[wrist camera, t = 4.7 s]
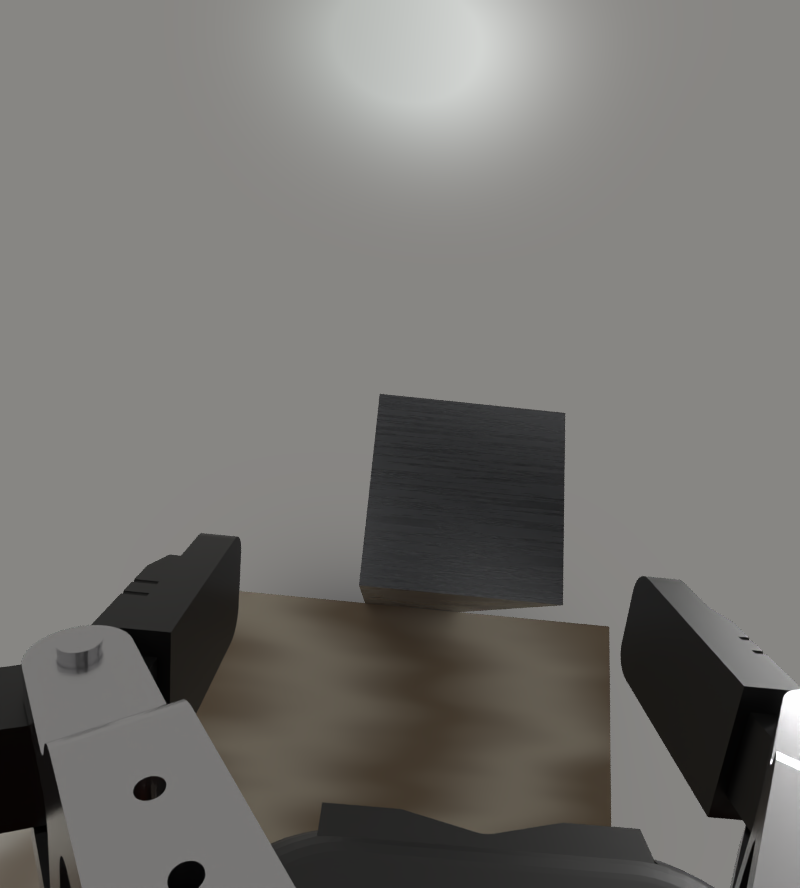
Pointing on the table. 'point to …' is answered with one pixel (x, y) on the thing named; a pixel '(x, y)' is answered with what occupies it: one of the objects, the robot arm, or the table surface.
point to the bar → (464, 507)
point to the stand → (403, 718)
